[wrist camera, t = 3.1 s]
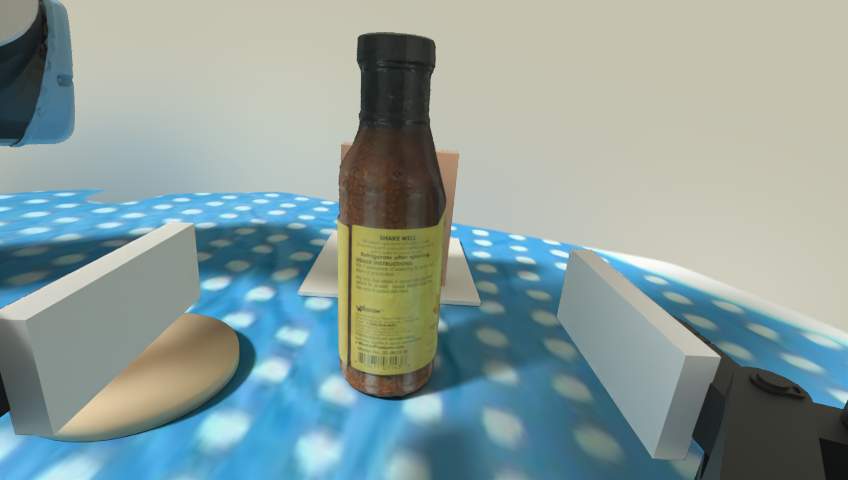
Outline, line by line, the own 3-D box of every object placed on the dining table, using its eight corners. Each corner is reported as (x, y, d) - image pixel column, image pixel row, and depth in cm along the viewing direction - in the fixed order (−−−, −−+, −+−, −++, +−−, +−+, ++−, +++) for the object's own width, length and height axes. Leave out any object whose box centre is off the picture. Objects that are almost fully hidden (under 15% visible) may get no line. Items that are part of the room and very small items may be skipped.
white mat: (480, 306, 37) (480, 302, 37) (298, 295, 37) (298, 291, 36) (458, 241, 55) (458, 238, 54) (333, 232, 54) (333, 229, 53)
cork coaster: (-24, 387, 23) (-29, 372, 23) (172, 310, 32) (170, 298, 32) (84, 479, 18) (79, 461, 18) (276, 358, 28) (276, 345, 27)
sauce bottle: (453, 375, 28) (493, 45, 21) (379, 420, 23) (403, 21, 17) (387, 333, 32) (405, 47, 26) (315, 364, 27) (315, 29, 21)
